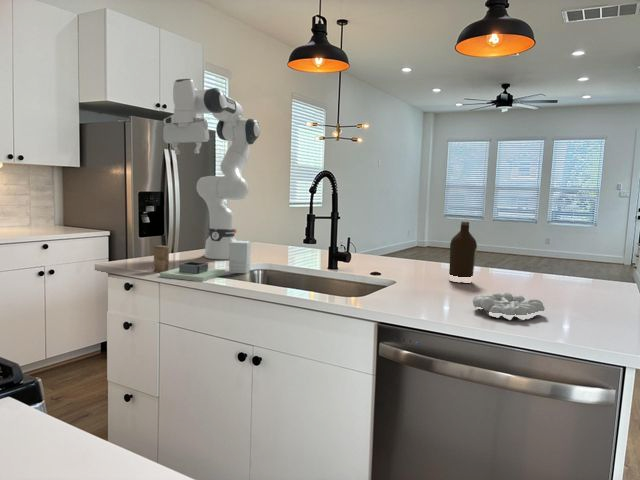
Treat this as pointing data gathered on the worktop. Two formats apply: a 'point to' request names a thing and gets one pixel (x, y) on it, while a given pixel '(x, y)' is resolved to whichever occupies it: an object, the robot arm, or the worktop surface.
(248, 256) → the supplement box
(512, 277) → the worktop surface
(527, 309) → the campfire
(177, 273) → the jar plate
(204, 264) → the dark grey square tray
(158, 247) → the brown wooden block
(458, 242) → the olive oil
